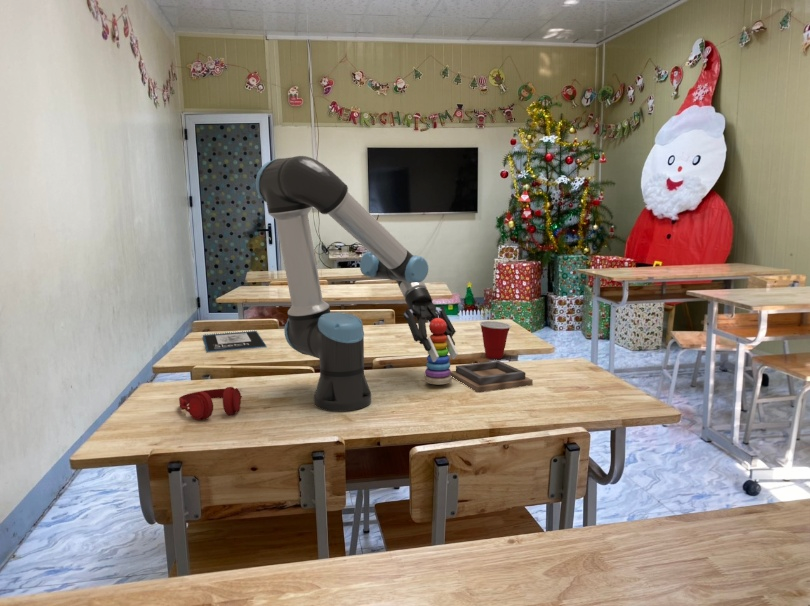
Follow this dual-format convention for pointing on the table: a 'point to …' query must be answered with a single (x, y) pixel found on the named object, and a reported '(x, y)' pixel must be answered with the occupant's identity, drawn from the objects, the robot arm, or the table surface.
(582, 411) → the table surface
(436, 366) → the stacking toy
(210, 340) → the sketchbook
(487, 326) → the plastic cup
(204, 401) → the headphones
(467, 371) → the board
